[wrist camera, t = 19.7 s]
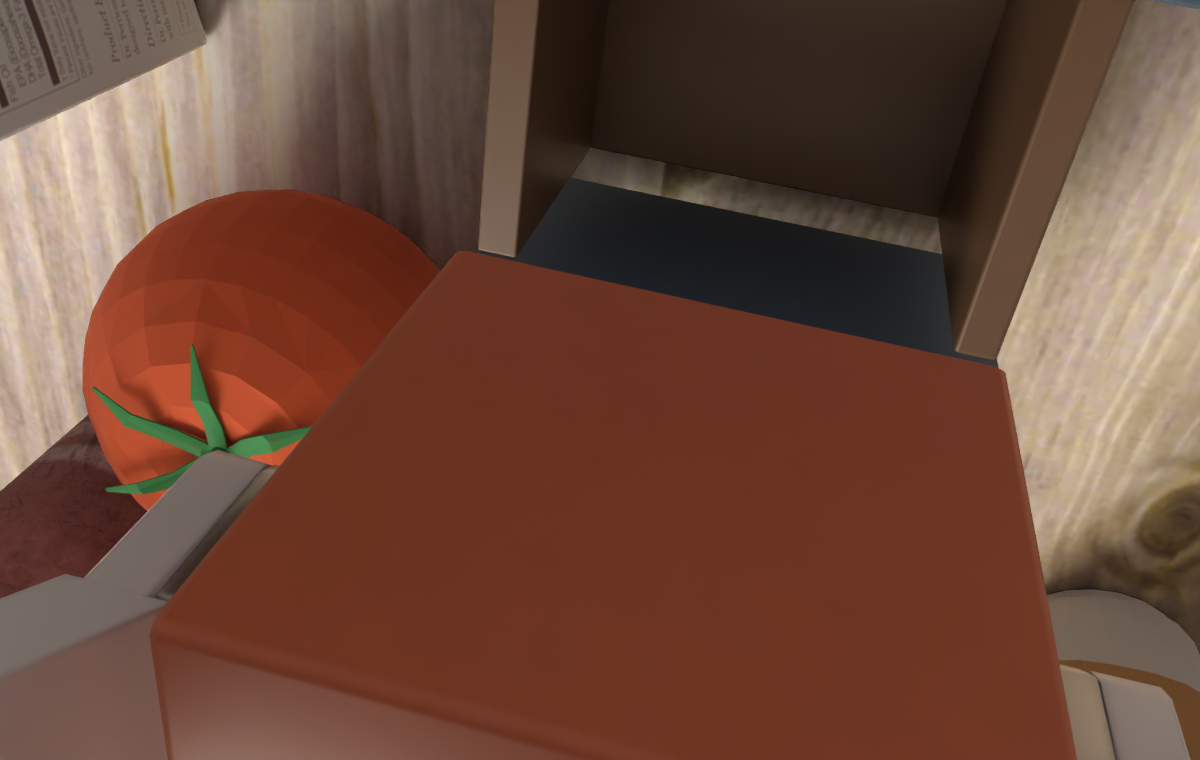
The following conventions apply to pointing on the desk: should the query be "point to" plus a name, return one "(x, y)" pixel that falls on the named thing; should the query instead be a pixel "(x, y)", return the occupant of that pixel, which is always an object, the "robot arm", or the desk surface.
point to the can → (62, 513)
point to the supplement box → (83, 51)
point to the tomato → (239, 330)
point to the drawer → (797, 149)
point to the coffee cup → (1130, 648)
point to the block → (626, 549)
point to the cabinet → (1181, 3)
